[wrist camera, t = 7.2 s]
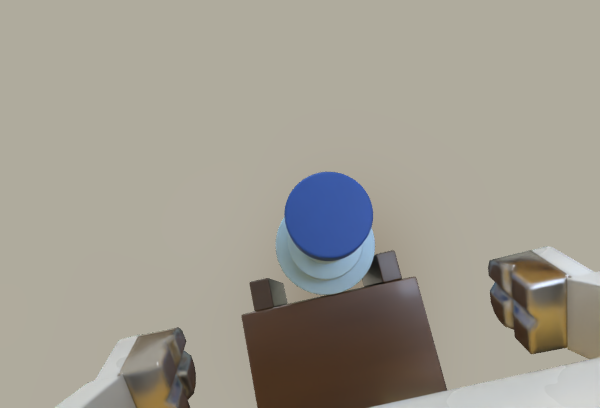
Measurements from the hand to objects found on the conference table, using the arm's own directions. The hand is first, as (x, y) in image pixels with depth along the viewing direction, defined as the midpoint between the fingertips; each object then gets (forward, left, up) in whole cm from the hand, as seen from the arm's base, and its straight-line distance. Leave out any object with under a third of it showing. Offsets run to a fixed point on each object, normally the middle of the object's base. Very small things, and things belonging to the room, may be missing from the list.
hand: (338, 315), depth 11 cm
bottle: (-7, +7, +1) cm, 10 cm away
